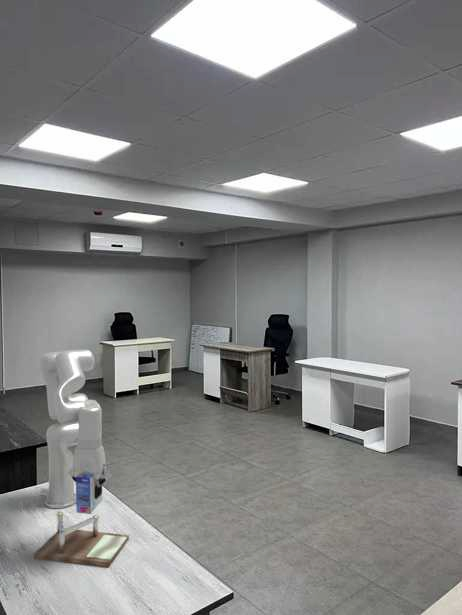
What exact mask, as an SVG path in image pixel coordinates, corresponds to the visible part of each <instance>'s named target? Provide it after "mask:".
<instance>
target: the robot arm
mask: <svg viewBox="0 0 462 615" xmlns="http://www.w3.org/2000/svg"><path fill="white" fill-rule="evenodd" d="M94 356H95V355H94V354H93V353H92V350H90V349H87V348H85V349H71V350H63V351H51V352H47V353H44V354H43V355H41V357H40V358H39V369H40V374H41V376H42V379H43V381H44V383H45V385H46V396H47V410H48V415H49V418H50V419H52V420H56V421H58V423H55V424H52V425H50V426H49V427H48V428H47V430H46V433H45V434H46V435H45V436H46V443H47V449H48V450H47V451H48V488H41V489H40V493H39V494H40V496H41V497H45V499H44V505H45V506H46V507H47V508H50V509H63V508H67V507H70V506H72V505H74V504H76V492H75V485H76V477H77V476H78V475H79V474H86V475H93V480H95V482H96V487H95V499H97V498H99V497H100V496H101V494H102V495H103V484H104V483H105V482H107V481H108V480H109V479H110V478H111V477H112V474H111V473H110V471H109V470H108V469H107V467H106V466H107V465H106V464H107V463H106V455H105V448H104V446H103V445H102V444H103V443H102V442H103V440H102V436H103V435H102V431H103V430H102V428H103V427H102V425H103V424H102V423H103V421H102V420H103V410H102V407H101V405H100V403H98V401H97V400H95V399H89V398H88V396H87V395H86V394H85V393H76V392H78V391H79V390H80V389H82V388H83V387H84V385H85V384H86V376H85V375H84V372H89V371H91V370H93V369H94V367H95V357H94ZM73 446H76V447H75V449H74V453H73V452H72V451H71V450H70V449H68V448H69V447H73ZM103 475H104V477H103Z"/></svg>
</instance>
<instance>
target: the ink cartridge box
mask: <svg viewBox="0 0 462 615" xmlns="http://www.w3.org/2000/svg"><path fill="white" fill-rule="evenodd" d="M75 483H76V484H75V493H76V503H75V504H76V507H75V508H76V514H85V515H86V514H87V515H91V514H92V513H93V512H94V511H95V510H96V509H97V508H98V507H99V505H100V504H101V502H102V501H103V493H102V494H101V496H100V497H99V498H97V499H95V487H96V482H95V480H93V475H86V474H79V475H78V476H77V477H76V482H75Z"/></svg>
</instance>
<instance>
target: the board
mask: <svg viewBox="0 0 462 615" xmlns="http://www.w3.org/2000/svg"><path fill="white" fill-rule="evenodd" d="M65 529H67V528H65V527H64V530H65ZM129 540H130V535H129V534H122V533H121V534H119V533H111V532H110V533H109V532H103V531H98V536H97V537H93V530H84V529H83V530H82V529H77V530H75V531H73V532H71V533H69V534H67V535H65V552H64V553H59V533H58V532H57V531H56V532H55V533H54V534H52V536H51V537H50V538H49V539H48V540H47V541H46V542H45V543H44V544H43V545H42V546H41V547H39V548H38V550H36V552H34V559H38V560H47V561H54V562H63V563H72V564H79V565H80V564H81V565H88V566H94V567H96V566H98V567H103V568H104V567H106V568H110V566H112V564H113V562H114V561H115V560H116V558H117V557H118V556H119V554H120V552H122V549H123V548H124V547H125V546H126V544H128V543H127V542H129Z"/></svg>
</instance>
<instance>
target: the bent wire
mask: <svg viewBox="0 0 462 615" xmlns="http://www.w3.org/2000/svg"><path fill="white" fill-rule="evenodd" d="M63 516H64V513H63V512H62V511H59V512H57V513H56V518H57V531H56V532H58V533H59V553H64V552H65V535H67V534H69V533H71V532H73V531H75V530H81V529H82V528H85V527H86V526H88V525H90V524H92V531H93V537H97V536H98V532H99V531H98V530H99V516H98V515H97V514H96V515H93V516H91V517H90V518H87V519H85V520H83V521H80V522H78V523H76V524H74V525H72V526H69V527H67V528H66V529H65V530H64V528H65V526H64V520H63Z"/></svg>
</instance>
